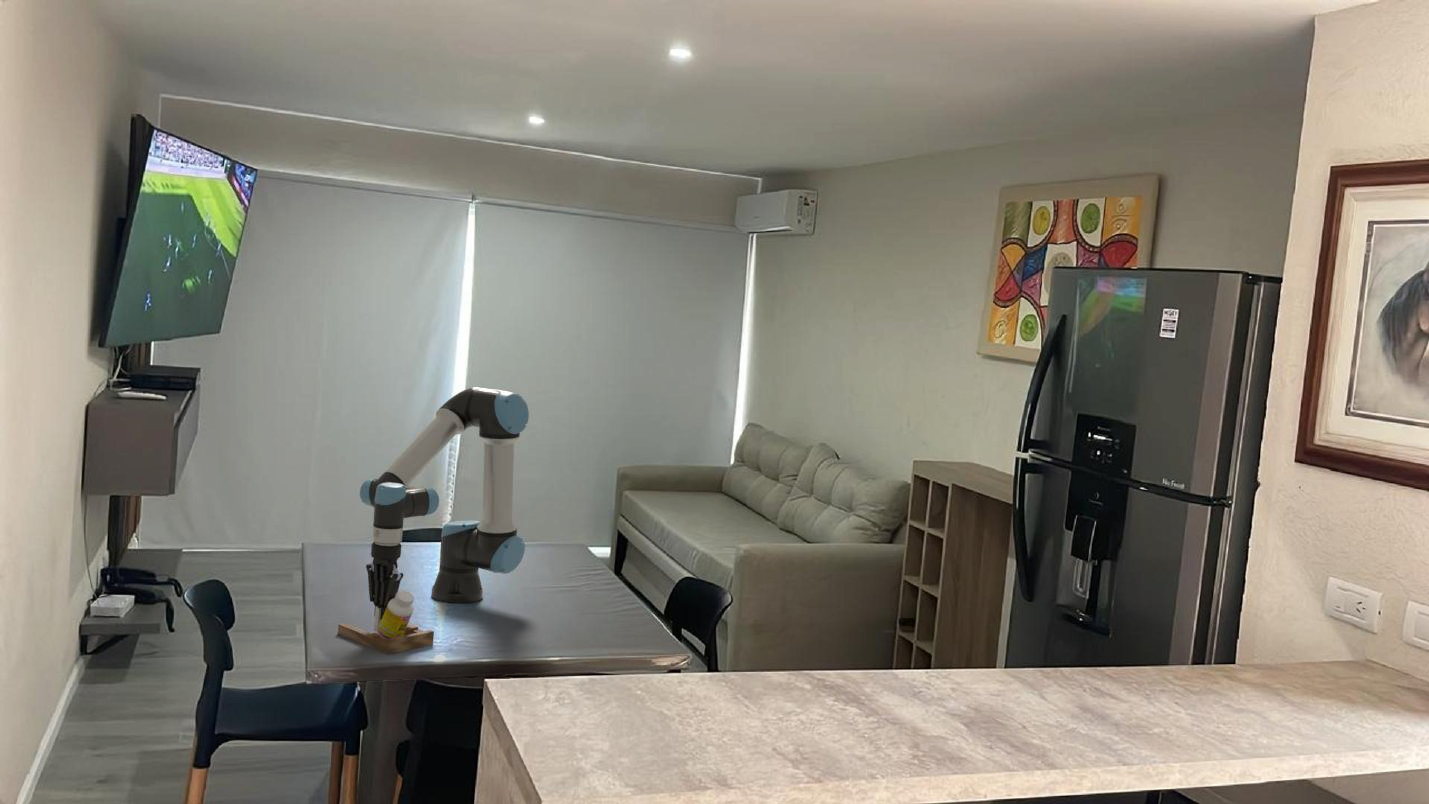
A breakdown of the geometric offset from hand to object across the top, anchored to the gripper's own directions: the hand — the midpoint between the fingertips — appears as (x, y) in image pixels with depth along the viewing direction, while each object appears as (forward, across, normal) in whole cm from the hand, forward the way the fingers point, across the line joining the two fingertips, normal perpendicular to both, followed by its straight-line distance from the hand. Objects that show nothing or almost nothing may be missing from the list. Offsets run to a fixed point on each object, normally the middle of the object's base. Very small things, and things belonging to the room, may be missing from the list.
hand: (379, 630), depth 299 cm
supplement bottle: (+1, +4, 0) cm, 4 cm away
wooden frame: (+2, +1, 0) cm, 2 cm away
